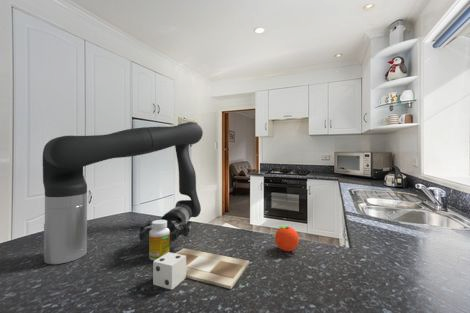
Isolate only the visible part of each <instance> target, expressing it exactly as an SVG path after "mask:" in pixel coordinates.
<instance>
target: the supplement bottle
mask: <svg viewBox="0 0 470 313" xmlns="http://www.w3.org/2000/svg"><path fill="white" fill-rule="evenodd" d="M166 227H167V221H166V220H161V219H156V220H153V221H152V228H153V229H152V230H151V231H149V236H148V240H149V241H148V258H149V259H150V260H151V261H155V260H156V259H158V258H160V257H161V256H163V255H165V254H166V253H168V252H171V251H170V249H171V248H170V247H171V246H170V245H171V244H170V242H171V235H170V230H169V229H168V228H166Z"/></svg>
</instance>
